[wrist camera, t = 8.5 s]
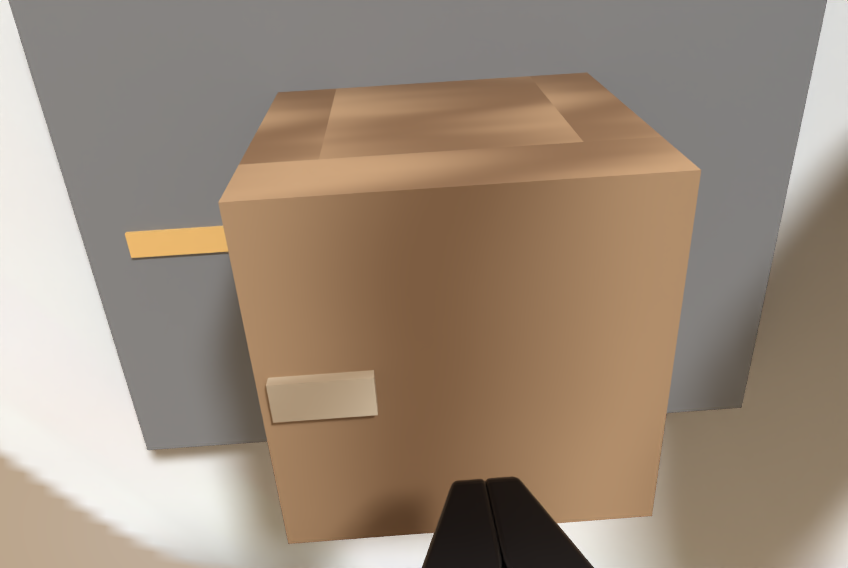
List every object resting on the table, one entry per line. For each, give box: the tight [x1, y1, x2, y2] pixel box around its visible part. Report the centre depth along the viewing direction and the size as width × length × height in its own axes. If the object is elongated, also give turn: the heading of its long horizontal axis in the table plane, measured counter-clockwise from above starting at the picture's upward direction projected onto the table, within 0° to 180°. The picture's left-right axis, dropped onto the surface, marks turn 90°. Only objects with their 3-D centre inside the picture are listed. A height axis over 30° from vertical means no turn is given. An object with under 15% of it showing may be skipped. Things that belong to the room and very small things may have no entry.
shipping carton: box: [218, 73, 701, 544], centre depth 13 cm, size 6×6×6 cm
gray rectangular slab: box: [9, 0, 827, 450], centre depth 17 cm, size 16×12×2 cm
